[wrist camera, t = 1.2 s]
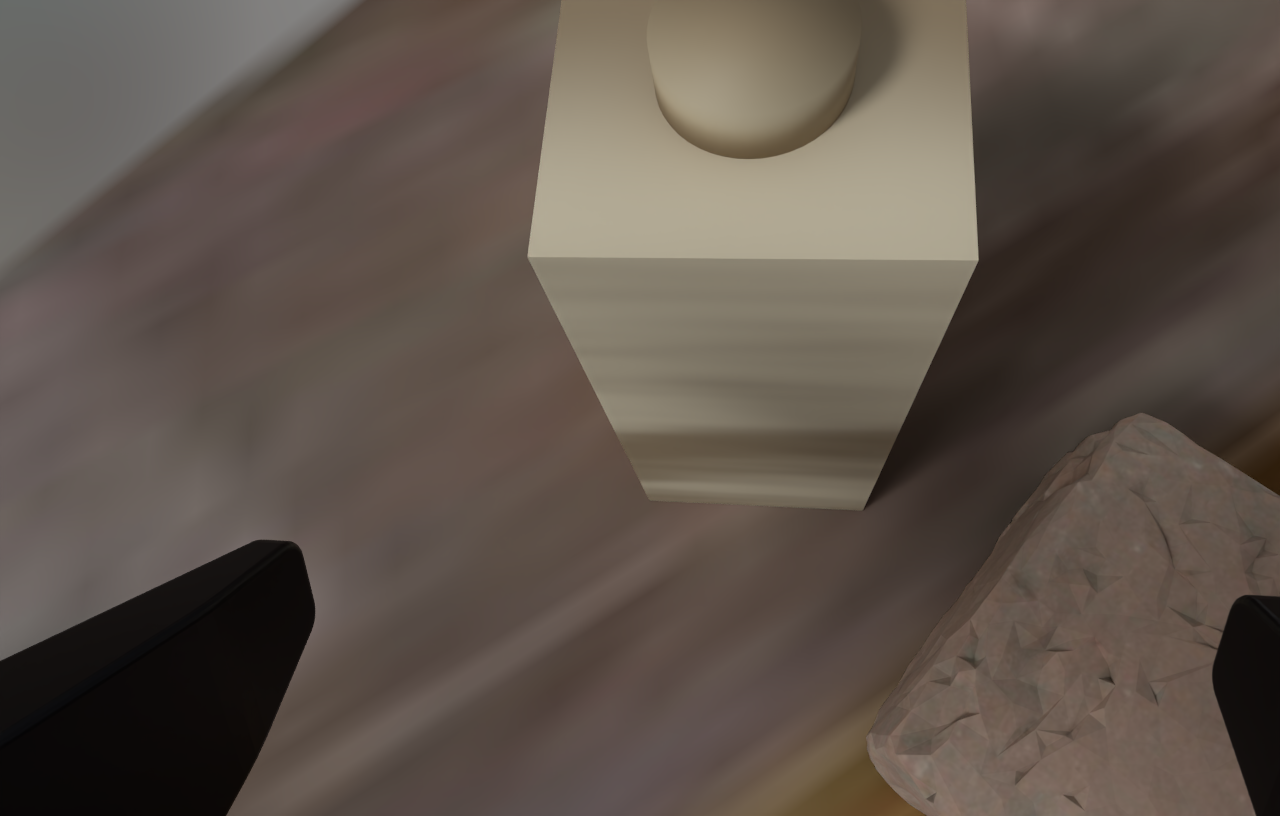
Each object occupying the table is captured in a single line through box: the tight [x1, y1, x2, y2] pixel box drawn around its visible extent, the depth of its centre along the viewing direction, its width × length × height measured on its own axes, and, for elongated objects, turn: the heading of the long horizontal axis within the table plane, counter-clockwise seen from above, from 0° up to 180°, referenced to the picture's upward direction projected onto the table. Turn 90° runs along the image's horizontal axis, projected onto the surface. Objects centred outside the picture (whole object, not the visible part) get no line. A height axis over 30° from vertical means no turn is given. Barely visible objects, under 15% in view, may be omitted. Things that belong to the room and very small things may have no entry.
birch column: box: [528, 0, 979, 511], centre depth 16 cm, size 5×5×13 cm
